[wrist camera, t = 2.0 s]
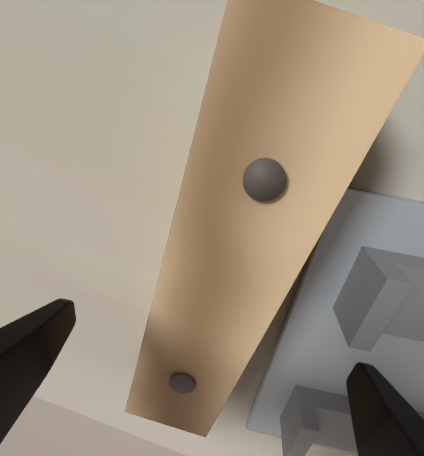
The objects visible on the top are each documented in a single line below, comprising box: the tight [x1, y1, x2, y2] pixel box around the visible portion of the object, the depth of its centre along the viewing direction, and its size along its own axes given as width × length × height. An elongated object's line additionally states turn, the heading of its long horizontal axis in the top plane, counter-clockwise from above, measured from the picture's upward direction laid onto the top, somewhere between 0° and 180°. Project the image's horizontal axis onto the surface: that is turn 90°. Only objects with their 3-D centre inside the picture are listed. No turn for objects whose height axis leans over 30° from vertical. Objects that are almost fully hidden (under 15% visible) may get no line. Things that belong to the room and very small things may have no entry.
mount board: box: [246, 188, 424, 456], centre depth 15 cm, size 13×20×3 cm, turn 171°
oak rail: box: [125, 0, 424, 437], centre depth 12 cm, size 4×18×5 cm, turn 164°
